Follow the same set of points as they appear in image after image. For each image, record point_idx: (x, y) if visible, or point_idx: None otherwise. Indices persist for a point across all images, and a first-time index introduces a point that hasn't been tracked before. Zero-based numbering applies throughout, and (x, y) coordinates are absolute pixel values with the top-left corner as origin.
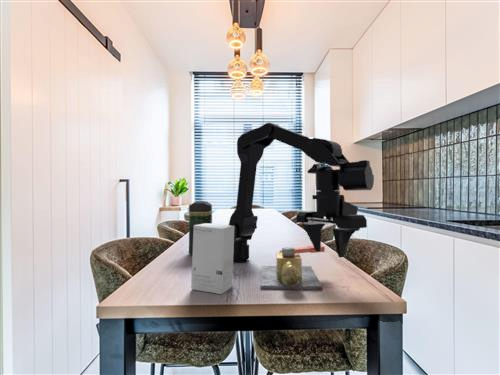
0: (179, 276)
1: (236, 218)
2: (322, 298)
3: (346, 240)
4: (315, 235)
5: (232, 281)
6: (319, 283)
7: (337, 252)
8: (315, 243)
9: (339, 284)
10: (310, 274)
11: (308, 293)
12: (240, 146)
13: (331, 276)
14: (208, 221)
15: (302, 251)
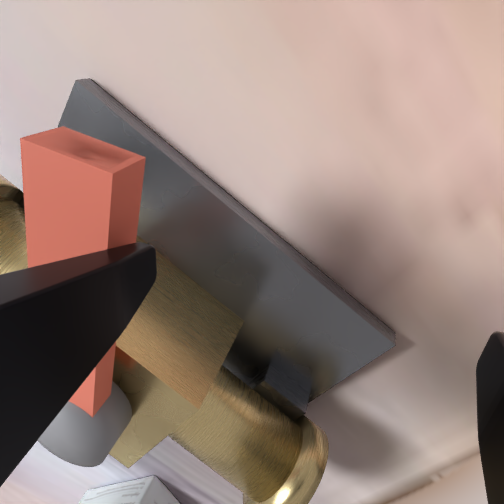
0: (19, 483)
1: None
2: (462, 409)
3: None
4: (16, 399)
5: (147, 492)
6: (356, 320)
7: (479, 423)
8: (103, 341)
9: (419, 190)
10: (212, 230)
11: (375, 398)
12: None
13: (277, 89)
14: None
15: (109, 358)
